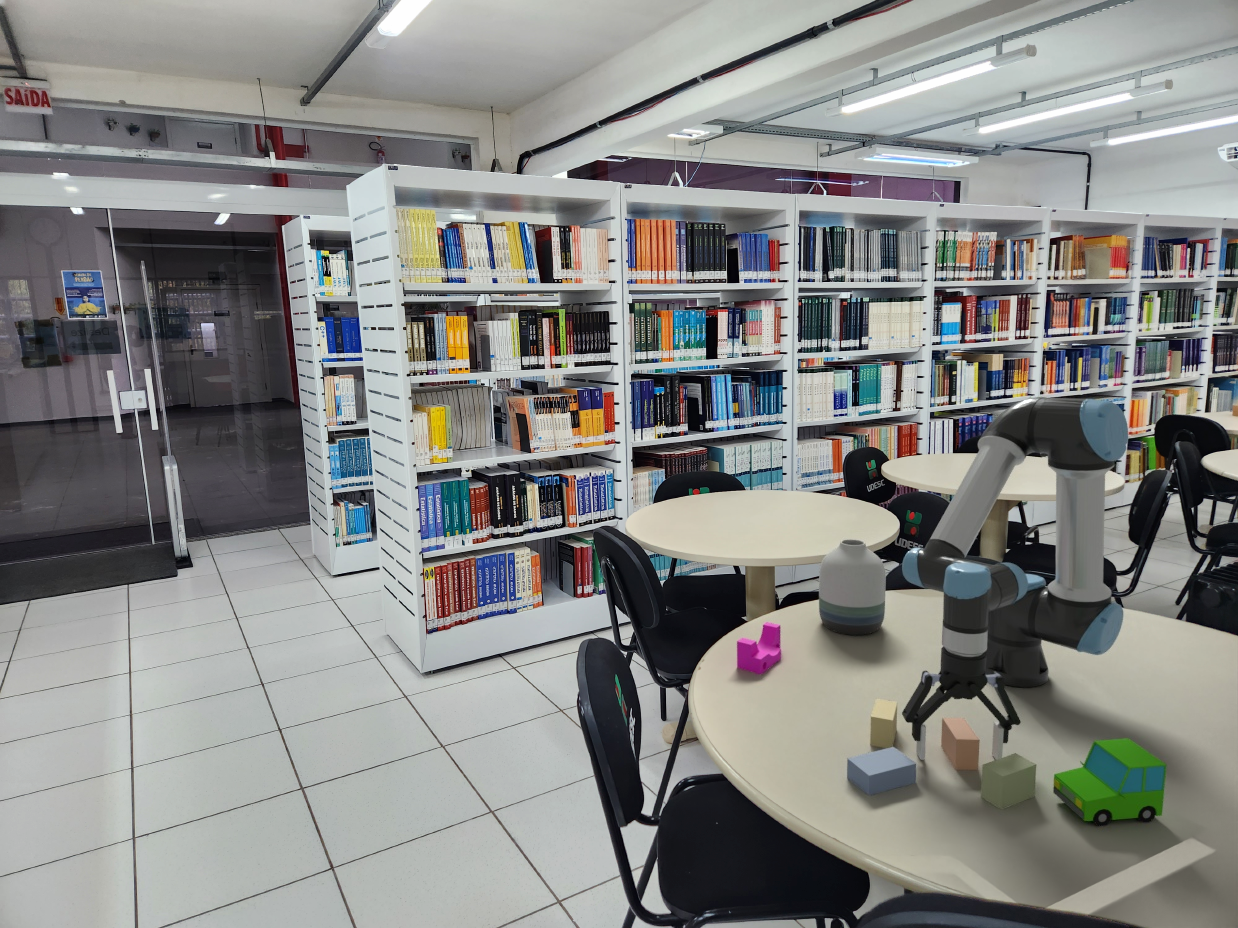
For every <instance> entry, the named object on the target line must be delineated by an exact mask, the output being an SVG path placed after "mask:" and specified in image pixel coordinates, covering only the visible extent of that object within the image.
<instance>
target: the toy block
mask: <svg viewBox="0 0 1238 928" xmlns="http://www.w3.org/2000/svg"><path fill="white" fill-rule="evenodd" d="M760 634H761V635H760V638H759V640H758V642H757V640H755V639H754V640H753V639H750V638H745V637H741V638H740V639H738V640H737V641H736V667H737V669H741V670H745V671H747V672H751V673H753V672H754V673H753V674H758V675H760V674H761V675H762V674H764V673H765V672H766V671H767V670H769V669H770V668H772V665H773V664H774V663H775V664H776V662H777V661H778V660H779V661H780V660H781V659H782V648H781V624H777V623H773V622H768V621H767V622H764V623H763V624H762V630H761V633H760ZM779 661H778V662H779ZM778 662H777V663H778ZM775 664H774V665H775ZM774 665H773V666H774ZM768 668H769V669H768ZM764 671H765V672H764ZM763 672H764V673H763Z"/></svg>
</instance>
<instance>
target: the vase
mask: <svg viewBox="0 0 1238 928" xmlns="http://www.w3.org/2000/svg"><path fill="white" fill-rule="evenodd" d="M819 566H820V567H819V572H818V573H819V575H818V577H819V578H818V581H819V582H818V590H819V591H818V610H819V611H818V613H819V617H820V619H821V622H822V624H823V625H824V626H825V627H826V628H827V629H829V630H830V631H832V632H835V633H838V634H841V635H846V636H847V635H848V636H865V635H870V634H873V633H874V632H875V633H876V632H877V631H878V630H880V628H881V627H882V624H883V622H884V620H885V613H886V612H885V611H886V610H885V609H886V587H887V586H886V584H887V583H886V582H887V581H886V580H887V577H886V576H887V575H886V568H885V565H884V563H883V561H882V559H881V558H880V557H879V555H877V554H876V553H874V552H873V551H872V550H870V549H869V548H868V547H867V545H866V542H865V541H864V540H860V539H853V538H852V539H851V538H849V539H842V540H840V542H839V545H838V546H837V547H836V548H834V549H832V550H831V551H829V552H828V553H826V555H824V557H823V559H822V561H821V563H820V565H819Z"/></svg>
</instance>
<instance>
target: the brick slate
mask: <svg viewBox="0 0 1238 928" xmlns="http://www.w3.org/2000/svg"><path fill="white" fill-rule="evenodd" d="M846 759H847V761H846V762H847V765H846V771H847V772H846V778H847V779H848V780H849V781H850V782H851V783H853V784H854V785H855V786H856V787H858V789H860V790H861V791H862V792H864V794H866V795H868V796H872V795H876V794H881V793H884V792H887V791H890V790H894V789H898V788H902V787H905V786H908V785H912V784H913V785H914V784H916V782H917V781H916V779H917V763H916V762H915V761H914V760H913V759H911V758H910V757H908V756H907V755H906V754H904V753H903V752H902V751H900V750H899V749H897V748H896V747H894V746H893V747H890V748H883V749H882V748H881V749H880V750H879V749H878V750H874V751H871V752H868V753H862V754H858V755H855V756H850V757H848V758H846Z"/></svg>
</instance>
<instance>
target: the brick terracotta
mask: <svg viewBox="0 0 1238 928" xmlns="http://www.w3.org/2000/svg"><path fill="white" fill-rule="evenodd" d="M940 740H941V742H940V743H941V744H940V747H941V749H942V750H943V752H944V753H945V755H946V757H947V759H948V760H949V762H950V763H951V765H952V767H953V768H954V770H956V771H957V770H958V771H979V760H980V758H979V757H980V743H981V741H980V738H979V737H978V735H977V734H976V732H975V731H974V730H973V728H972V727H971V725H970V724H969V723H968V721H967V719H966V718H965V717H941V739H940Z"/></svg>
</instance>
